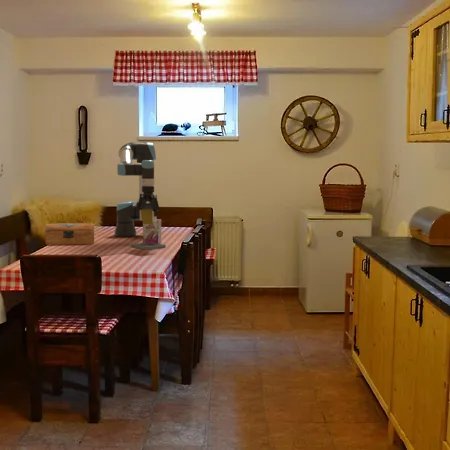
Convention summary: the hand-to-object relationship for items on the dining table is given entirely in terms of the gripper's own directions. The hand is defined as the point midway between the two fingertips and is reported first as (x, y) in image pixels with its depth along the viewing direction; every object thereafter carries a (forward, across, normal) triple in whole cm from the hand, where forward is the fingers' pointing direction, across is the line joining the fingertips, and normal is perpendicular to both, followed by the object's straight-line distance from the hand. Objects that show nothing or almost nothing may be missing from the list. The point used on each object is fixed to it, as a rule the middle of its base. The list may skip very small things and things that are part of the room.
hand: (148, 221), depth 373 cm
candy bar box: (+17, -13, +13) cm, 25 cm away
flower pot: (+2, 0, 0) cm, 2 cm away
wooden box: (+17, -46, -27) cm, 56 cm away
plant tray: (+17, 0, 0) cm, 17 cm away
